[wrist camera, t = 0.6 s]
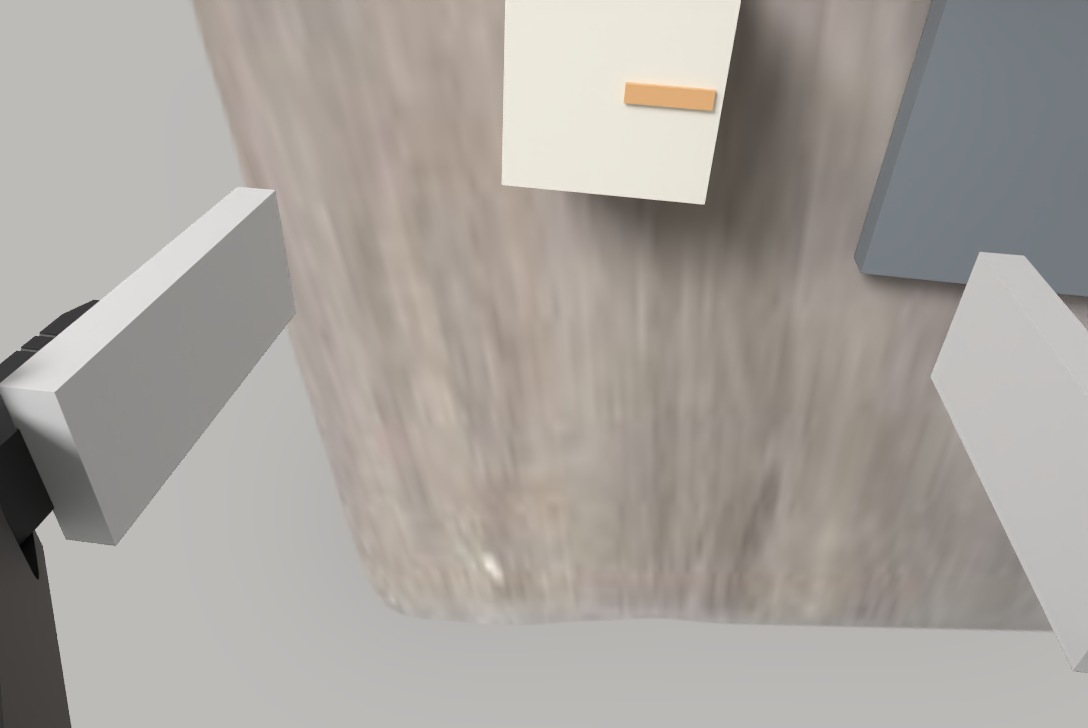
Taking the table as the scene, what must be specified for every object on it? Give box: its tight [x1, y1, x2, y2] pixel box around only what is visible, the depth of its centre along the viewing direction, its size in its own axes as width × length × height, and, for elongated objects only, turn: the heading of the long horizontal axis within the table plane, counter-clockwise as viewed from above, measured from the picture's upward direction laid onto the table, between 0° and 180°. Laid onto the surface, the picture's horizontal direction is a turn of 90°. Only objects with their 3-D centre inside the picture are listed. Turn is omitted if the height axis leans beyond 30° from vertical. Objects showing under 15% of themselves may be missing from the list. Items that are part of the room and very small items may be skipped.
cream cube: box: [502, 0, 741, 205], centre depth 27 cm, size 7×7×7 cm
